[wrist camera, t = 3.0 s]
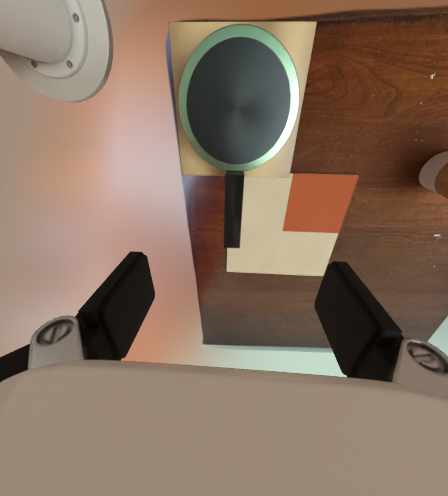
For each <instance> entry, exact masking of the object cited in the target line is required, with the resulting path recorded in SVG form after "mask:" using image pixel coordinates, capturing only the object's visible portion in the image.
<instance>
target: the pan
mask: <svg viewBox="0 0 448 496" xmlns="http://www.w3.org/2000/svg"><path fill="white" fill-rule="evenodd" d="M178 104H179V115H180V120H181V124H182V128H183V130H184V133H185V135H186V137H187V139H188V141H189V143H190V145H191V146H192V148H193V149H194V150H195V152H196V153H197V154H198V155H199V156H200V157H201V158H202V159H203V160H204V161H206V162H207V163H209V164H210V165H212V166H214V167H216V168H218V169H221V170H225V171H226V174H225V214H224V248H240V237H241V222H242V207H243V192H244V177H245V175H244V172H243V171H249V170H252V169H255V168H257V167H259V166H261V165H263V164H265V163H266V162H268V161H269V160H270V159H272V158H273V157H274V156H275V155H276V154H277V153H278V152H279V151H280V150H281V148H282V147H283V146H284V144H285V143H286V141H287V139H288V138H289V136H290V134H291V132H292V130H293V127H294V124H295V121H296V118H297V113H298V107H299V82H298V77H297V72H296V69H295V66H294V63H293V60H292V59H291V57H290V55H289V53H288V51H287V50H286V48H285V47H284V45H283V44H282V43H281V42H280V41H279V40H278V39H277V38H276V37H275V36H274V35H272V34H271V33H270V32H268V31H267V30H265V29H263V28H261V27H258V26H255V25H251V24H232V25H228V26H225V27H222V28H220V29H218V30H216V31H214V32H212V33H211V34H210V35H208V36H207V37H206V38H205V39H204V40H203V41H202V42H200V43H199V45H198V46H197V47H196V48H195V50H194V51H193V53H192V54H191V56H190V58H189V59H188V61H187V64H186V66H185V68H184V71H183V74H182V77H181V81H180V87H179V97H178Z"/></svg>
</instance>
